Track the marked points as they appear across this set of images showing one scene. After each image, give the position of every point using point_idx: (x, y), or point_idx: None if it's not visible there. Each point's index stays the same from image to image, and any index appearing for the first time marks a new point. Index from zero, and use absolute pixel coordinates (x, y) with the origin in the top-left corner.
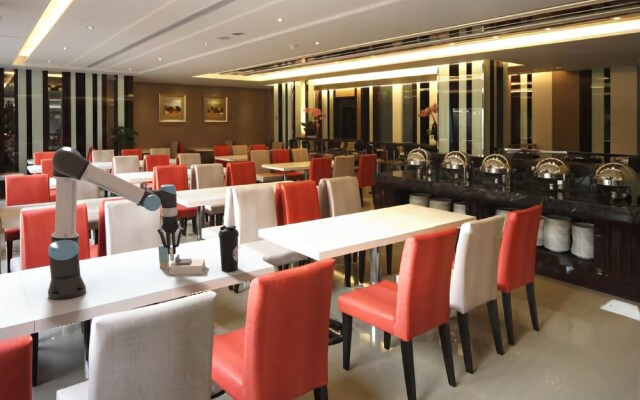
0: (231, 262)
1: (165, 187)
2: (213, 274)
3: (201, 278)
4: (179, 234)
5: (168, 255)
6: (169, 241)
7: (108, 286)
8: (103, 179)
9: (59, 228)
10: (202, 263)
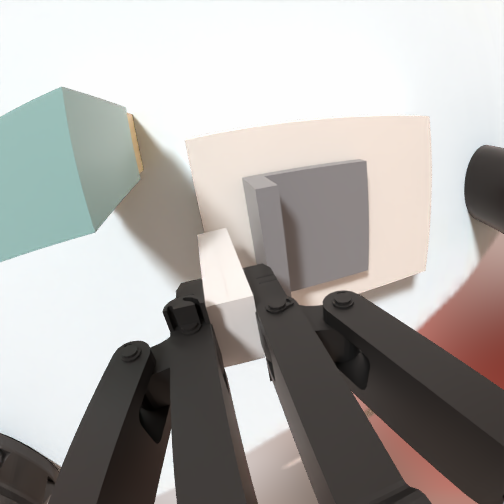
0: None
1: None
2: (438, 257)
3: (395, 317)
4: (474, 474)
5: (116, 128)
6: (242, 448)
7: (56, 432)
8: None
9: None
10: (428, 224)
